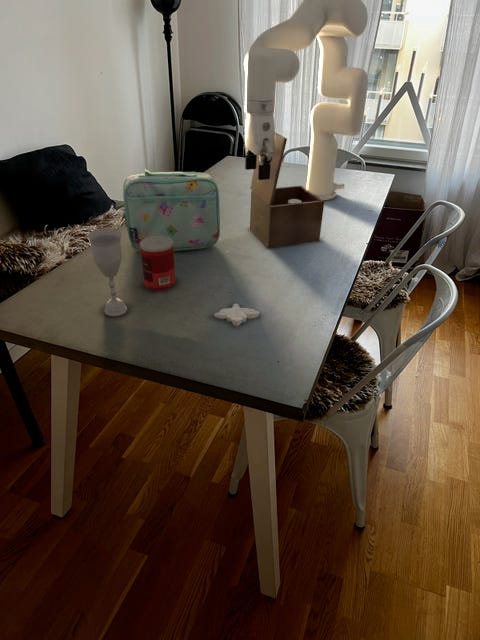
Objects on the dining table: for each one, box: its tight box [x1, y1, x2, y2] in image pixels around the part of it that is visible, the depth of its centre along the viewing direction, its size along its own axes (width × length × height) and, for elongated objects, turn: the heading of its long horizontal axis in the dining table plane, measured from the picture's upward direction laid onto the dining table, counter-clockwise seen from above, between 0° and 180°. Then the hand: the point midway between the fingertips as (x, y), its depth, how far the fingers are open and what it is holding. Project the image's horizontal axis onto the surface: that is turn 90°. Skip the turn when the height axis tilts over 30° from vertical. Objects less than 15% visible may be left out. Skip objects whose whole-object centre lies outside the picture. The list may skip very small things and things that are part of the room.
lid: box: [249, 132, 288, 205], centre depth 128 cm, size 18×15×1 cm
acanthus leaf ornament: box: [213, 303, 260, 327], centre depth 103 cm, size 8×7×2 cm
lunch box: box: [120, 169, 221, 253], centre depth 128 cm, size 27×10×21 cm, turn 102°
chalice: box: [87, 228, 128, 317], centre depth 100 cm, size 7×7×18 cm
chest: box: [249, 185, 325, 249], centre depth 139 cm, size 17×15×12 cm
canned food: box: [139, 236, 177, 291], centre depth 113 cm, size 8×8×11 cm
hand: (257, 174), depth 129 cm, fingers open, 9 cm apart
